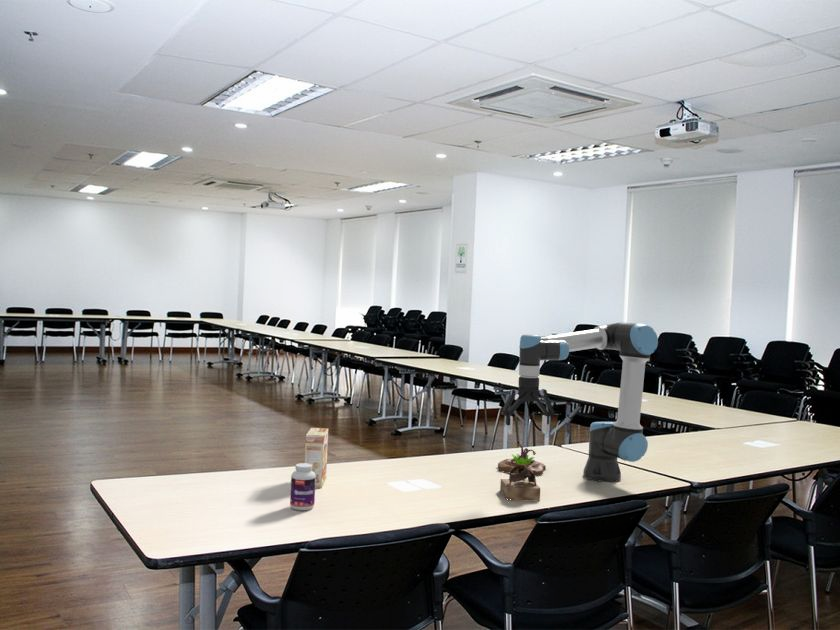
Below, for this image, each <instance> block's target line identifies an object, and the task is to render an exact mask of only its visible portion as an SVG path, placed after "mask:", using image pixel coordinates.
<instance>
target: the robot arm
mask: <svg viewBox="0 0 840 630" xmlns="http://www.w3.org/2000/svg"><path fill="white" fill-rule="evenodd" d="M658 344H659V340H658V334H657V333H656V331H655V329H654V328H653V327H652V326H650V325H648V324H645V323H644V324H643V323H634V322H633V323H632V322H623V321H622V322H615V323H610V324H603V325H599V326H598V325H597V326H595V327H594V328H593V329H587V330H579V331H574V332H573V331H571V332H566V333H564V332H563V333H557V334H550V335H544V336H540V335H539V334H522V335H521V336H520V339H519V356H518V357H519V360H518V361H519V362H518V375H519V377H518V388H517V390H516V389H513V388H511V389H510V390H509V395H508V397H507V399H506V401H505V403H504V405H503V407H502V408H501V409H502V410H500V411H501V412H500V414H501V415H503V416H505V425H506V426H507V434H508V435H510V436H511V435H513V426H514V425H513V424H514V423H513V420H514V417H513V416H512V415H513V414H514V413H515V412H516V410H517V409H518V408H519V407H520V406H521V404H523V403H528V402H531V403H533V402H534V403H535V405H537V407H538V408H539V409H540V411H541V412H542V413H543V415H542V417H541V418H542V419H541V433H542V434H544V435H547V431H548V425H550V417H551V415H555V410H554V407H553V405H552V404H551V401H550V398H549V396H548V390H547V389H544V388H542V389H539V387H540V378H539V376H540V365H541V361H564V360H566V359H567V358H568V356H569V354H570V352H576V351H582V350H583V351H584V350H590V349H597V350H600V351H601V350H602V351H603V350H615V351H619V357H620V358H621V360H622V366H621V367H622V369H621V378H620V389H619V397H618V398H619V399H618V407H617V408H618V409H617V419H616V421H595V422H594V421H593V422H592V423H591V424H589V425H590V427H589V431H588V432H589V433H588V434H589V437H588V439H589V441H588V456H587V460H586V463H585V465H584V468H583V470H582V471H583V474H582V476H583V477H584V478H585V479H588V480H593V481H596V480H597V481H599V482H604V481H606V483H607V482H609V483H611V482H612V483H613V482H618V481H621V480H622V473H621V469H620V465H619V460H618V459H620V460H622V461H624V462H626V461H627V462H630V463H632V462H633V463H634V462H637V461H639V460H641V459H642V458H643V457H644V456H645V455H646V453H647V450H648V446H649V442H648V439H647V437H645V435H644V434H643V432H644V426H642V425H641V423H640V421H641V413H642V412H641V411H642V401H643V393H644V381H645V380H644V379H645V371H646V363H647V362H648V361H650V359H651V354H653V353H655V351H656V350H657V348H658ZM517 395H518V397H517V398H516V396H517ZM539 395H540V396H541V397H542V399H543V402H544V404H545V405H544V404H543V402H542V401H541V400H540V399H539V397H538V396H539ZM515 398H516V400H515V401H514V399H515ZM512 403H513V404H512ZM545 406H546V407H545Z"/></svg>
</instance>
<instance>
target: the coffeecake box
mask: <svg viewBox="0 0 840 630" xmlns="http://www.w3.org/2000/svg"><path fill="white" fill-rule="evenodd" d="M328 442H329V428H323V427H310V429H309V430H308V432H307V433H306V434H305V444H304V445H305V447H304V463H308V464H312V470H311V471H313V472H314V473H315V475H316V480H315V489H322V488H323V486H324V485H325V483H326V482H325V481H326V479H327V466H328V465H327V464H328V446H329V445H328V444H329V443H328Z"/></svg>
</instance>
